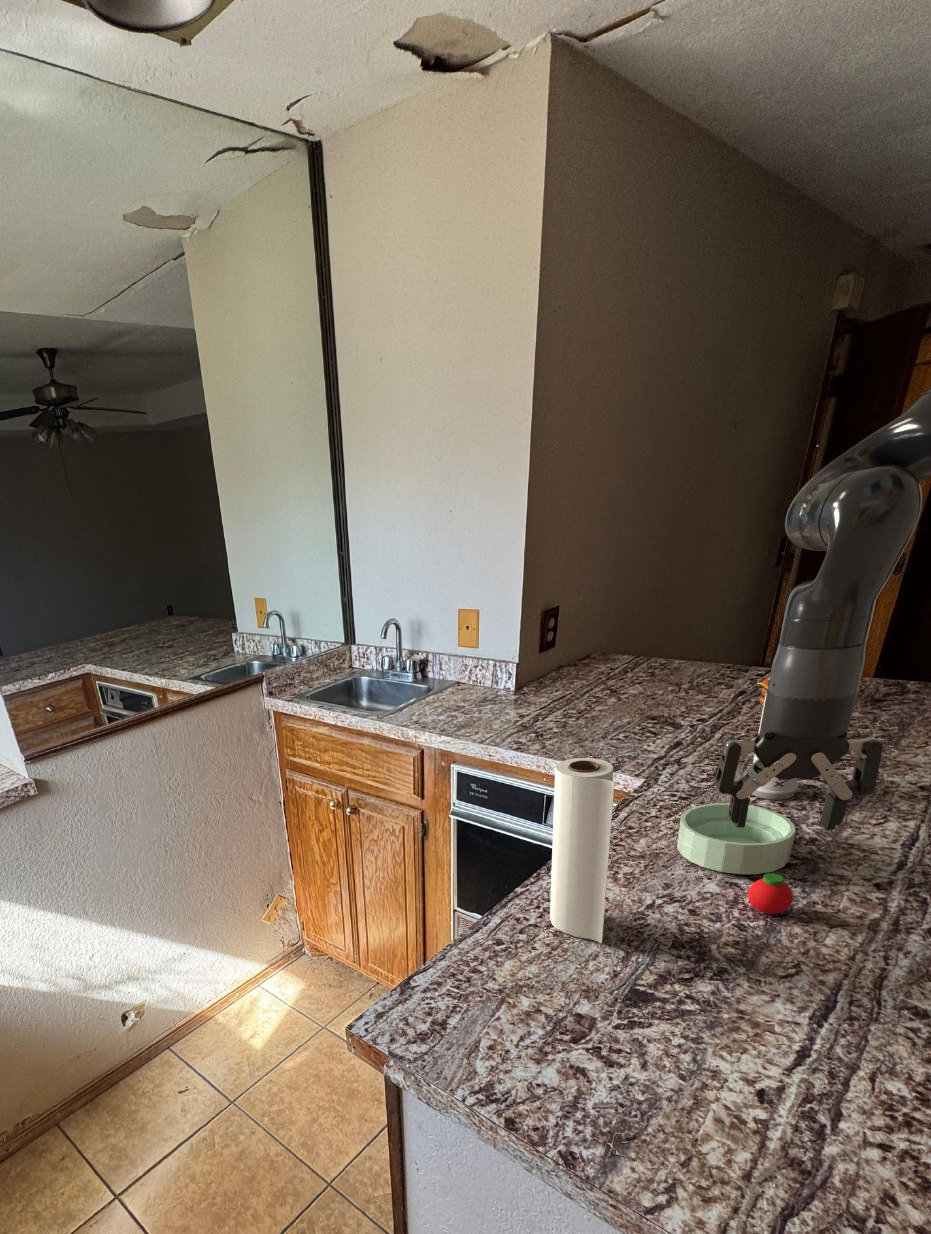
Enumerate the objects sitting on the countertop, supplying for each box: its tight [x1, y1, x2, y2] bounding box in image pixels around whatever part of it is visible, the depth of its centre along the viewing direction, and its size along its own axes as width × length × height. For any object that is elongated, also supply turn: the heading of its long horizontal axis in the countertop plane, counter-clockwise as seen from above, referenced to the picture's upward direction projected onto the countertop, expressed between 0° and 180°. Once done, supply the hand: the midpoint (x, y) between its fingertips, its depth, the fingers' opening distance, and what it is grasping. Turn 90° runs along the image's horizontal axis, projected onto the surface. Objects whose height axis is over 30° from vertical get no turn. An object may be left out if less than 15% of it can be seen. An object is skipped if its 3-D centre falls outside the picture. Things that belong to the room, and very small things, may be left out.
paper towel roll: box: [549, 757, 616, 944], centre depth 77 cm, size 7×6×21 cm
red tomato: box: [747, 872, 794, 915], centre depth 78 cm, size 4×4×5 cm
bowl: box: [676, 802, 796, 875], centre depth 90 cm, size 13×13×5 cm
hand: (782, 825), depth 74 cm, fingers open, 8 cm apart
